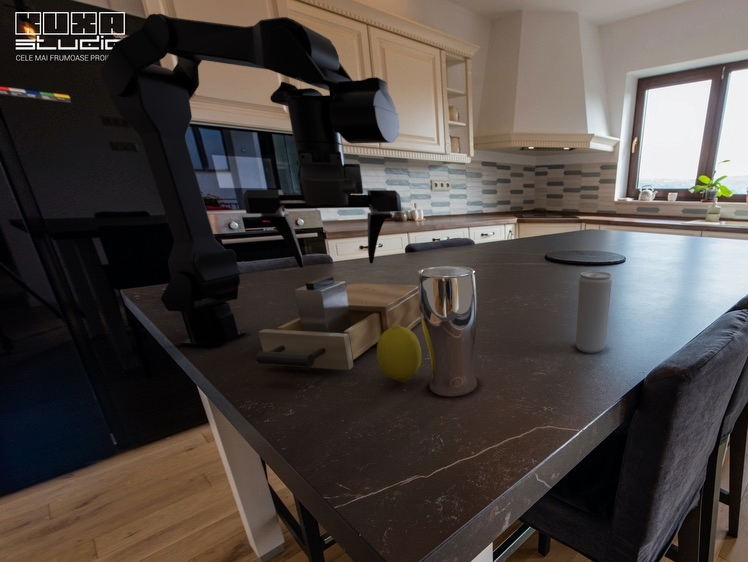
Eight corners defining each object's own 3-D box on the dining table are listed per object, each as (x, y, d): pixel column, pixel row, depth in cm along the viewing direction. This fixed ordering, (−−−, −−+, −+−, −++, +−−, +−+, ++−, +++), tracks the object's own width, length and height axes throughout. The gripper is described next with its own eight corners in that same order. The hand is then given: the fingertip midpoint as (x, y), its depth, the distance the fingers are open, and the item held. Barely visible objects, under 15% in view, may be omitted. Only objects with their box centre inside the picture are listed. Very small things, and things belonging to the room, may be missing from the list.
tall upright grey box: (306, 350, 57) (292, 283, 54) (330, 336, 63) (319, 275, 59) (331, 352, 57) (319, 284, 53) (353, 337, 62) (344, 275, 59)
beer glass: (457, 404, 47) (450, 279, 42) (414, 389, 50) (403, 272, 45) (490, 381, 52) (488, 269, 47) (450, 370, 56) (443, 263, 50)
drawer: (331, 384, 50) (324, 348, 48) (241, 378, 51) (232, 343, 50) (392, 336, 66) (389, 308, 64) (323, 332, 68) (318, 304, 66)
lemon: (413, 393, 49) (406, 333, 46) (372, 389, 50) (364, 330, 47) (430, 374, 54) (425, 319, 52) (393, 371, 55) (386, 317, 53)
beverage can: (611, 348, 64) (618, 274, 59) (595, 356, 60) (601, 279, 56) (585, 340, 67) (590, 270, 62) (569, 348, 63) (573, 274, 59)
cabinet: (390, 346, 64) (385, 306, 62) (312, 342, 66) (305, 302, 64) (423, 319, 78) (420, 285, 75) (357, 316, 80) (353, 283, 77)
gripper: (217, 132, 41) (252, 281, 46) (402, 141, 48) (413, 270, 53) (239, 143, 50) (266, 265, 56) (390, 149, 57) (400, 258, 63)
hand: (337, 265), depth 57 cm, fingers open, 9 cm apart
